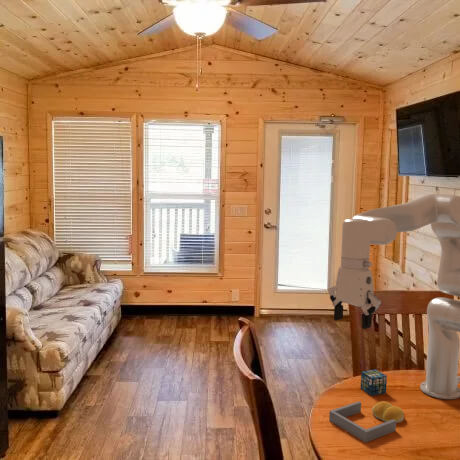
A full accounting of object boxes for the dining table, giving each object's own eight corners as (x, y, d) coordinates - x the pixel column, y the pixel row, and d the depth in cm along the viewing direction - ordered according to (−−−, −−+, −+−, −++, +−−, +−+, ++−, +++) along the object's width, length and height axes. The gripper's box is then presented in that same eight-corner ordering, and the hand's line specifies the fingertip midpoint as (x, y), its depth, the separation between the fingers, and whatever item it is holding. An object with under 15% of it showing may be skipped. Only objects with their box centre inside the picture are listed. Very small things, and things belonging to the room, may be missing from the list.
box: (358, 410, 155) (358, 401, 155) (395, 430, 143) (396, 420, 143) (329, 420, 149) (329, 410, 148) (365, 442, 137) (366, 432, 137)
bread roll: (394, 427, 146) (395, 414, 145) (367, 415, 153) (368, 403, 152) (409, 418, 151) (410, 405, 151) (383, 407, 158) (383, 395, 158)
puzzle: (386, 393, 168) (387, 375, 167) (371, 396, 166) (372, 378, 165) (374, 386, 173) (375, 369, 173) (360, 388, 171) (360, 371, 170)
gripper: (389, 267, 136) (386, 329, 138) (338, 257, 150) (336, 314, 152) (372, 270, 132) (369, 334, 134) (321, 260, 145) (319, 318, 147)
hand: (352, 323), depth 143 cm, fingers open, 9 cm apart
